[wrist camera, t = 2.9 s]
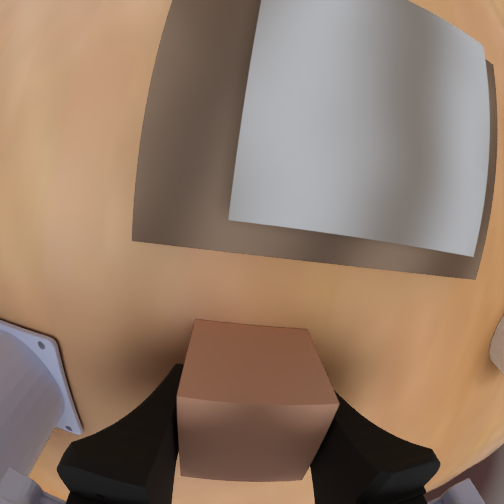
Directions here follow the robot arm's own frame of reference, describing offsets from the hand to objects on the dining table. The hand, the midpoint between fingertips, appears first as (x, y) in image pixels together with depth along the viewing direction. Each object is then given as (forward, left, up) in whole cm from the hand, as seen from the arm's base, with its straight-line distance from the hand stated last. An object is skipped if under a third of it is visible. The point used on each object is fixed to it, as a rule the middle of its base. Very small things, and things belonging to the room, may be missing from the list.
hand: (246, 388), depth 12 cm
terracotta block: (0, 0, -1) cm, 1 cm away
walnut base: (+3, +12, -1) cm, 12 cm away
